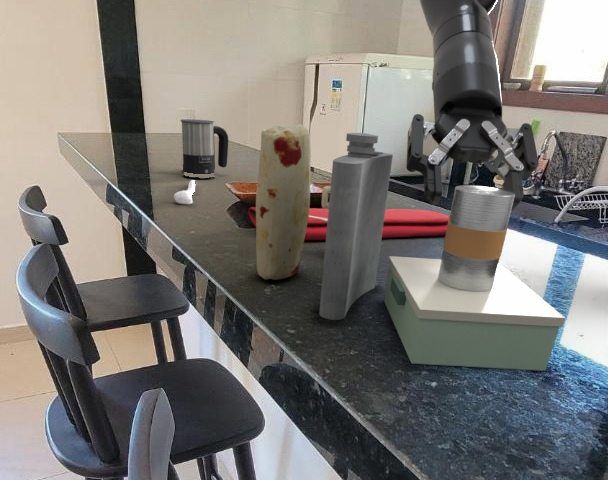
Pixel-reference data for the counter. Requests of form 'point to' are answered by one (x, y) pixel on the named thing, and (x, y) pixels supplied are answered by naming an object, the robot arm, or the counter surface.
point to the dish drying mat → (393, 226)
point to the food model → (282, 200)
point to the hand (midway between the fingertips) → (474, 203)
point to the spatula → (185, 194)
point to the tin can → (475, 237)
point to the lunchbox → (469, 319)
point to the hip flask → (354, 224)
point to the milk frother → (202, 146)
